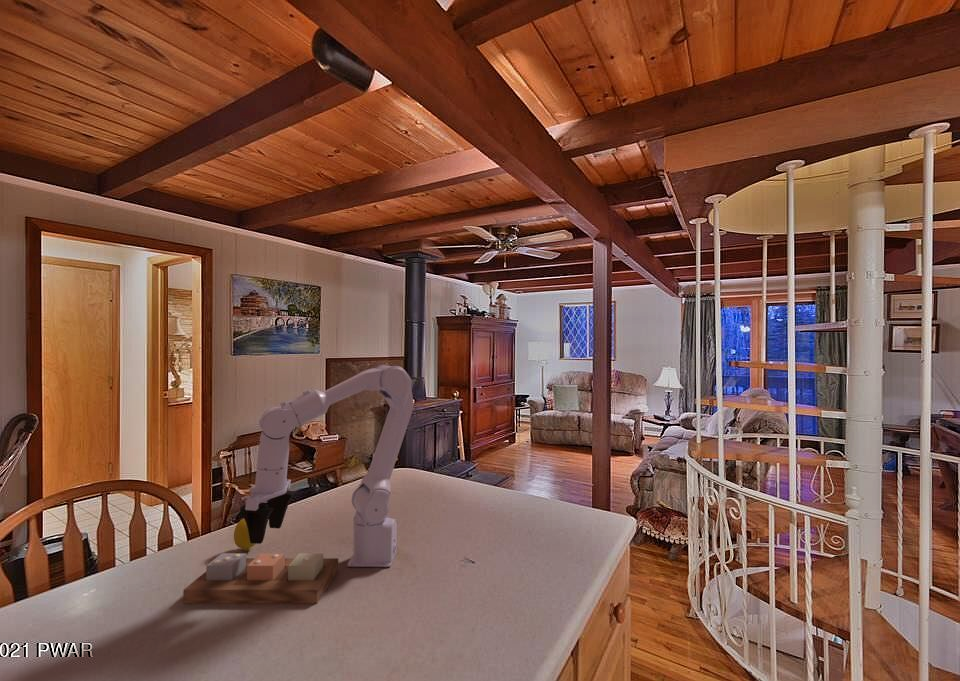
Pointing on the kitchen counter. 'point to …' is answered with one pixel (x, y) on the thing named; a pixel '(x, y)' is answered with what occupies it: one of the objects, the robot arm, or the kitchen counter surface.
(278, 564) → the tile two
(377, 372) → the robot arm
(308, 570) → the tile one
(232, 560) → the tile three
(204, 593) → the button board
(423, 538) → the kitchen counter surface
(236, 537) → the lemon
